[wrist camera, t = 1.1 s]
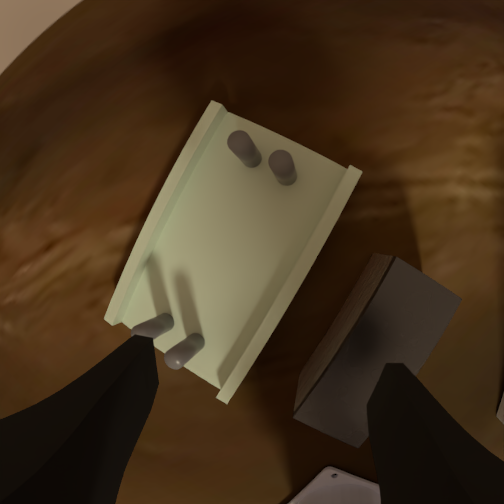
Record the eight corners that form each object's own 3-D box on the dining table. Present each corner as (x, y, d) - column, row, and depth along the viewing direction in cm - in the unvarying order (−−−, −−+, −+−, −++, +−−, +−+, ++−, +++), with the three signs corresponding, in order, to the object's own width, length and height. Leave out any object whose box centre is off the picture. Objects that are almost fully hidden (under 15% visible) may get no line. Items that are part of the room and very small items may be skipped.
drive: (423, 283, 18) (462, 298, 12) (349, 398, 19) (357, 448, 13) (372, 252, 19) (396, 256, 13) (299, 372, 20) (292, 417, 14)
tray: (357, 179, 19) (368, 161, 14) (235, 389, 21) (216, 421, 16) (221, 113, 20) (199, 84, 16) (120, 312, 22) (83, 326, 18)
